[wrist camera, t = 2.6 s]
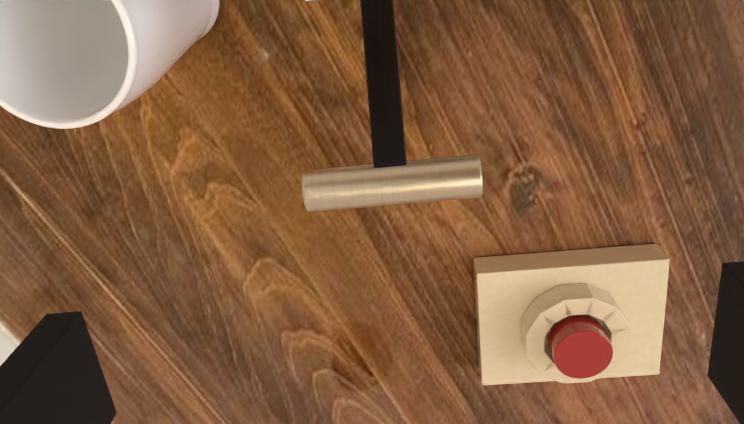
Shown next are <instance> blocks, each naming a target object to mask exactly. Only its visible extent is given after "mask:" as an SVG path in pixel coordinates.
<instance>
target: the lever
mask: <svg viewBox="0 0 744 424" xmlns="http://www.w3.org/2000/svg"><path fill="white" fill-rule="evenodd" d="M360 2H361V15H362V27H363V40H364V52H365V65H366V77H367V90H368V102H369V114H370V127H371V139H372V152H373V164H369V165H358V166H347V167H336V168H325V169H314V170H306V171H304V172H303V175H302V194H303V201H304V205H305V208H306V210H307V211H309V212H314V211H326V210H337V209H349V208H361V207H372V206H384V205H396V204H408V203H419V202H431V201H443V200H454V199H466V198H478V197H481V196H482V194H483V177H482V167H481V161H480V158H479V156H478V155H469V156H458V157H447V158H436V159H424V160H413V161H407V159H406V147H405V135H404V123H403V111H402V99H401V87H400V75H399V63H398V51H397V39H396V27H395V15H394V3H393V0H360Z"/></svg>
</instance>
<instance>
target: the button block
mask: <svg viewBox="0 0 744 424" xmlns="http://www.w3.org/2000/svg"><path fill="white" fill-rule="evenodd" d="M669 262H670V259H669V258H668V257H667V255H666V254H665V253H664V252H663V250H662V249H661V248H660V247H659V245H658V244H644V245H631V246H619V247H606V248H593V249H580V250H567V251H554V252H542V253H529V254H516V255H503V256H490V257H478V258H473V268H474V288H475V307H476V327H477V346H478V365H479V371H480V377H481V382H482V385H497V384H513V383H529V382H545V381H558V382H560V383H581V382H591V381H593V380H595V379H597V378H609V377H626V376H642V375H658V374H659V370H660V359H661V348H662V337H663V327H664V316H665V305H666V294H667V283H668V273H669ZM572 316H587V317H590V318H593V319H595V320H596V321H598V322H599V323H600V324H601V325H602V327H603V328H604V330H605V332H606V334H607V336H608V338H609V340H610V342H611V344H612V347H613V357H612V360H611V362H610V364H609V365H608V367H607V368H606V369H605V370H604V371H602V372H601V373H599V374H598V375H595V376H593V377H589V378H583V379H578V378H572V377H568V376H566V375H564V374H563V373H561V372H560V371H559V370H558V369H557V367H556V365H555V363H554V360H553V357H552V355H551V352H550V349H549V345H548V338H549V334H550V332H551V330H552V329H553V327H554V326H555V325H556V324H557V323H559V322H560V321H562V320H563V319H566V318H568V317H572Z"/></svg>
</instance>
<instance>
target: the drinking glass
mask: <svg viewBox="0 0 744 424" xmlns="http://www.w3.org/2000/svg"><path fill="white" fill-rule="evenodd" d="M219 4H220V0H0V106H1V107H3V108H4V109H6V110H7V111H9V112H10V113H12V114H14V115H15V116H17V117H19V118H21V119H23V120H26V121H28V122H31V123H33V124H37V125H40V126H45V127H49V128H58V129H70V128H78V127H84V126H87V125H91V124H93V123H96V122H98V121H100V120H102V119H103V118H105V117H107V116H109V115H111V114H113V113H114V112H116V111H118V110H120V109H122V108H123V107H125V106H127V105H128V104H130V103H131V102H133V101H134V100H136V99H137V98H138V97H140V96H141V95H143V94H144V93H145V92H146V91H148V90H149V89H150V88H151V87H152V86H153V85H154V84H155V83H157V82H158V81H159V80H160V79H161V78H162V77H163V76H164V75H165V74H166V72H167V71H168V70H169V69H170V68H171V67H172V66H173V65H174V64H175V63H176V62H177V61H178V60H179V59H180V58H181V56H182V55H183V54H184V53H185V52H186V51H187V50H188V49H189V48H190V47H191V46H192V45H193V44H194V43H195V42H196V41H198V40H199V39H201V38H202V37H204V36H205V35H206V34H207V33H208V32H209V31H210V29H211V28H212V26H213V25H214V23H215V21H216V18H217V15H218V12H219Z"/></svg>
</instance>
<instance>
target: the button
mask: <svg viewBox="0 0 744 424" xmlns="http://www.w3.org/2000/svg"><path fill="white" fill-rule="evenodd" d="M548 345H549V349H550V352H551V355H552V357H553V360H554V363H555V365H556V367H557V369H558V370H559V371H560V372H561V373H563V374H564V375H566V376H568V377H572V378H578V379H583V378H589V377H593V376H595V375H598V374H599V373H601V372H602V371H604V370H605V369H606V368H607V367H608V365H609V364H610V362H611V360H612V357H613V347H612V344H611V342H610V340H609V338H608V336H607V334H606V332H605V330H604V328H603V327H602V325H601V324H600V323H599V322H598V321H596V320H595V319H593V318H590V317H587V316H572V317H568V318H566V319H563V320H562V321H560V322H559V323H557V324H556V325H555V326H554V327H553V329H552V330H551V332H550V334H549V338H548Z"/></svg>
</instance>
